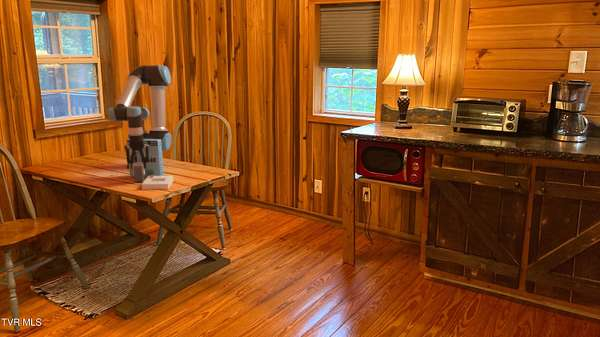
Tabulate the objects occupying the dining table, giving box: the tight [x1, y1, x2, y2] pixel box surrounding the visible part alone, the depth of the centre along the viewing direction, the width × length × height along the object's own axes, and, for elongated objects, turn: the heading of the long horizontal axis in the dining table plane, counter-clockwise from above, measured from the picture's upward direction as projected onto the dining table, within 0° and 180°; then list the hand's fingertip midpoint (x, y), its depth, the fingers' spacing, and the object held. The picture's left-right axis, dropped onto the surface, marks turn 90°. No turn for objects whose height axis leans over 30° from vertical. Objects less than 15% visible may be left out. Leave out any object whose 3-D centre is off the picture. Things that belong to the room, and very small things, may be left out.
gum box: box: [126, 138, 165, 179], centre depth 289 cm, size 20×5×23 cm, turn 81°
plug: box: [133, 163, 145, 183], centre depth 280 cm, size 4×4×10 cm
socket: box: [141, 175, 174, 191], centre depth 274 cm, size 18×14×4 cm
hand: (139, 174), depth 281 cm, fingers closed on plug, 4 cm apart
